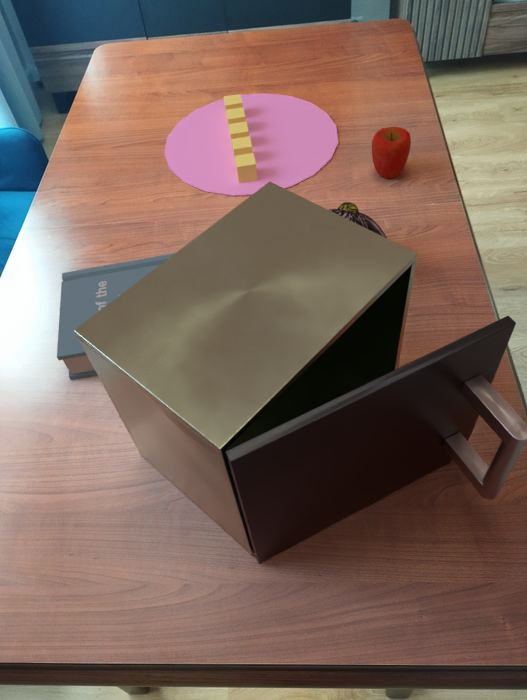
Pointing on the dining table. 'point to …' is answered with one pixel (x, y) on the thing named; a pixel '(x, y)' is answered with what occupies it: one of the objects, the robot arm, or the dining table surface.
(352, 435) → the compartment door
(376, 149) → the apple
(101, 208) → the dining table surface
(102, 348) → the storage compartment
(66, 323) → the book
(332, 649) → the dining table surface
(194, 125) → the platter
